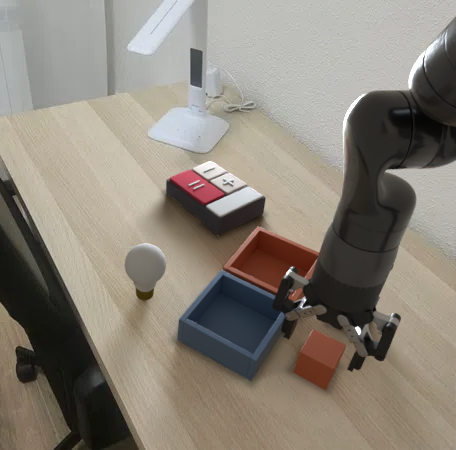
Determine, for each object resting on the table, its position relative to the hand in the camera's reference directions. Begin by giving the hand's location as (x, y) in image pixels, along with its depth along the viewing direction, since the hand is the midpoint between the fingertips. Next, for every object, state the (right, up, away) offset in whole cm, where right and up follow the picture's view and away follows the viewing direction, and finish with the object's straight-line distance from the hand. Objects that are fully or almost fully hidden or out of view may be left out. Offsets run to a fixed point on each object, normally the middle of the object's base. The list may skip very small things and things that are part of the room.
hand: (319, 349), depth 71 cm
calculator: (-11, +20, +30) cm, 37 cm away
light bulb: (-23, +5, +12) cm, 26 cm away
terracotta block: (0, -3, +3) cm, 5 cm away
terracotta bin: (-3, +7, +15) cm, 17 cm away
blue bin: (-10, +1, +7) cm, 13 cm away
